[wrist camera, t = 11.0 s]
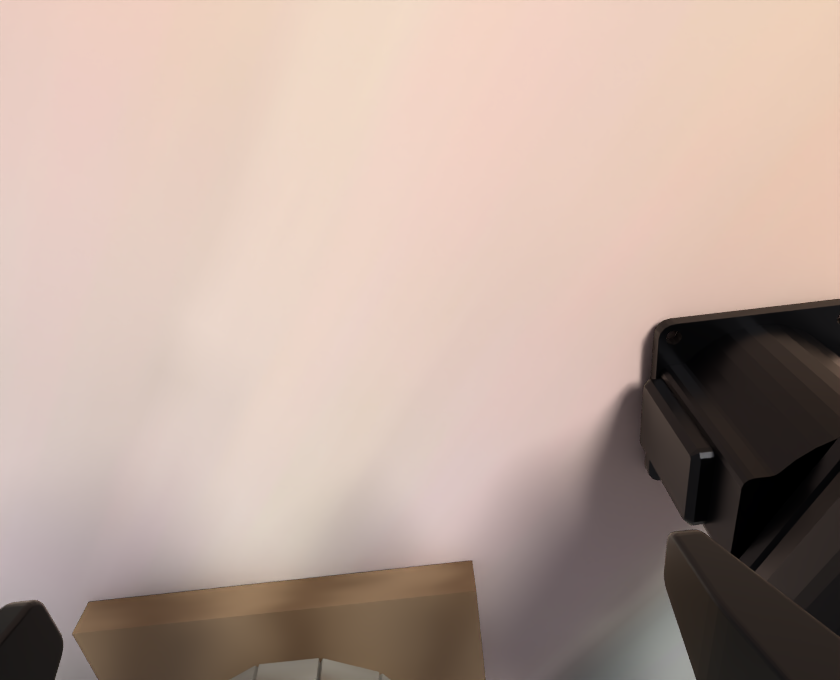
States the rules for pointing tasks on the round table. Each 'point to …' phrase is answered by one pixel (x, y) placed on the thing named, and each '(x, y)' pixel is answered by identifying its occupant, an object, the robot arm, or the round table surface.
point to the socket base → (295, 630)
